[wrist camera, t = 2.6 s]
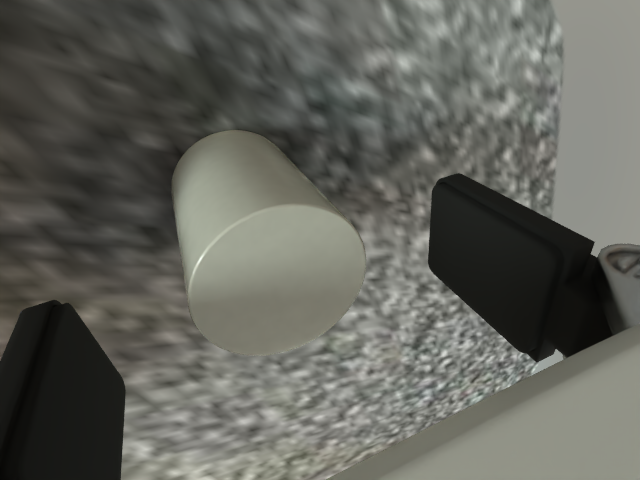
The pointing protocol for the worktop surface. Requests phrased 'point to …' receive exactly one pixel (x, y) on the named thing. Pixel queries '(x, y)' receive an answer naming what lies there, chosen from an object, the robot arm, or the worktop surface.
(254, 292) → the pale grey cylinder
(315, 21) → the worktop surface
